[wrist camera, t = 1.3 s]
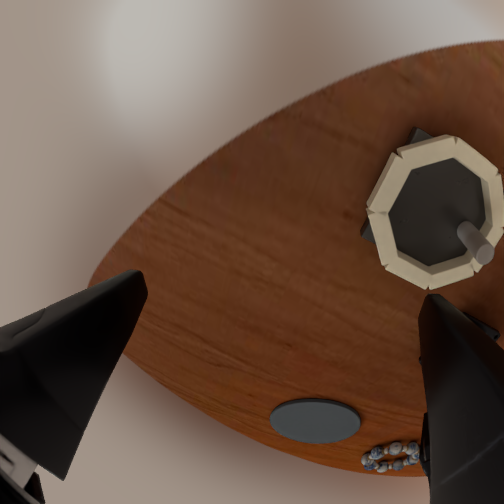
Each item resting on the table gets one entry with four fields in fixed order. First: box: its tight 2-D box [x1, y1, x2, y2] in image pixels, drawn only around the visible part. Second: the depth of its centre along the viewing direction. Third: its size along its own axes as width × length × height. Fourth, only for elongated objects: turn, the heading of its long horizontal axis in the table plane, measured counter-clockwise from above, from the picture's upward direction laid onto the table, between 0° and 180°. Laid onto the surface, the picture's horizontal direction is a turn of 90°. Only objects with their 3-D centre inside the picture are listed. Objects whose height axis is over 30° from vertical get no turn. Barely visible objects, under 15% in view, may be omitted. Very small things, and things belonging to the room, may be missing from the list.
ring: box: [366, 135, 504, 290], centre depth 15 cm, size 10×10×1 cm
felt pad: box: [270, 399, 361, 443], centre depth 31 cm, size 11×11×1 cm
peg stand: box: [360, 127, 504, 266], centre depth 15 cm, size 8×8×4 cm
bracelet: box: [361, 442, 420, 472], centre depth 31 cm, size 10×10×2 cm
